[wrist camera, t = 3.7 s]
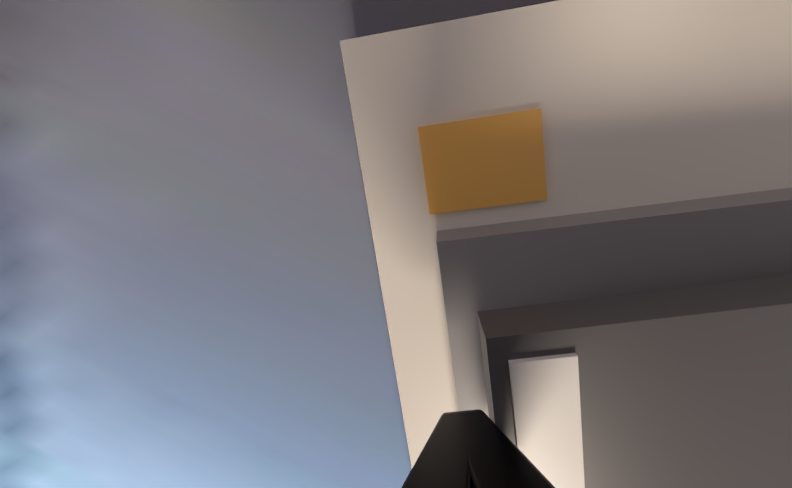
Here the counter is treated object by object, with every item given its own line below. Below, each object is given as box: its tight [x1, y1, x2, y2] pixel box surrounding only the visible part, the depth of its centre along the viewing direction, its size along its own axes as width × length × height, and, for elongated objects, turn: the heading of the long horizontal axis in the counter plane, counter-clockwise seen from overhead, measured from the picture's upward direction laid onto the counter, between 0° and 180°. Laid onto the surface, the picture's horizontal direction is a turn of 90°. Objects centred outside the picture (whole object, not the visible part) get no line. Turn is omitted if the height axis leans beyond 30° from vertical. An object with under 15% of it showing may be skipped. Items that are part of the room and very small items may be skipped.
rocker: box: [477, 274, 792, 488], centre depth 7 cm, size 8×4×1 cm, turn 99°
